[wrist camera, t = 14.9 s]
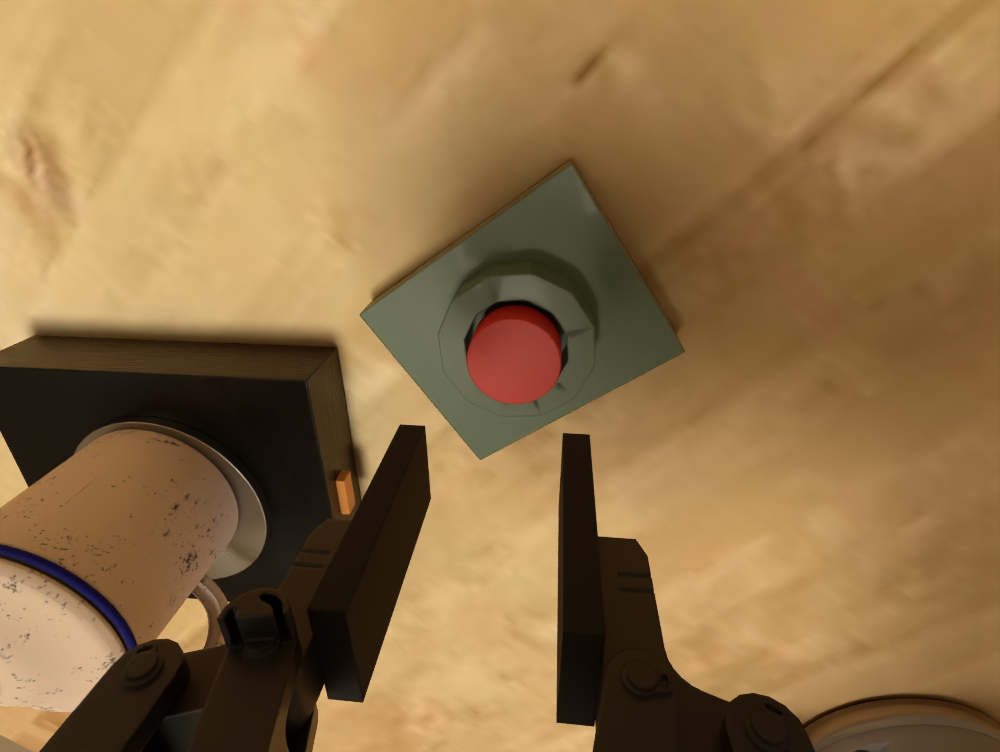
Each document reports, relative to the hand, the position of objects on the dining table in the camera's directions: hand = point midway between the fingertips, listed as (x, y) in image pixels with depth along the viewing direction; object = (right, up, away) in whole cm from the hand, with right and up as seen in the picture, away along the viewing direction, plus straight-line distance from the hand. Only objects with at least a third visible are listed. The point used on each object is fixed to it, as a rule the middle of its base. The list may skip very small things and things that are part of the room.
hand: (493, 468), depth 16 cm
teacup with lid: (-17, -5, +14) cm, 22 cm away
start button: (+1, +4, +8) cm, 9 cm away
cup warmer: (-18, -2, +18) cm, 25 cm away
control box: (+1, +6, +11) cm, 13 cm away
